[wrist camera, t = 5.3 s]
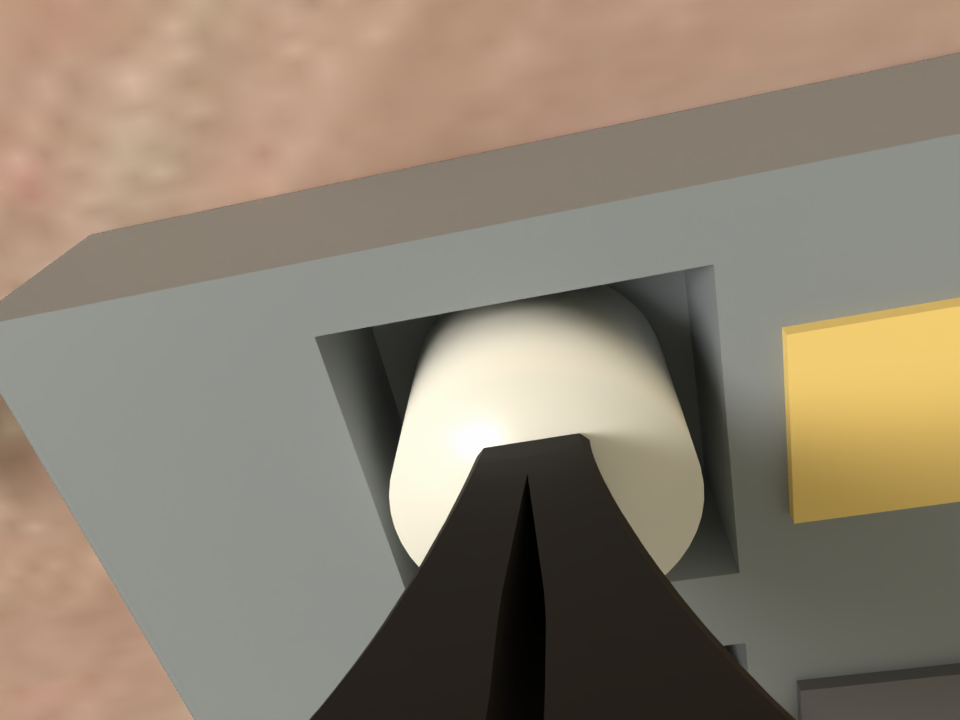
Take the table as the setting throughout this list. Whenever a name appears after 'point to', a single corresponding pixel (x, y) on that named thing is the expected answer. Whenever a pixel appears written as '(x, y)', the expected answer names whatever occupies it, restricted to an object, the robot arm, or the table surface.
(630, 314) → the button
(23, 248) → the table surface
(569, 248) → the button board
